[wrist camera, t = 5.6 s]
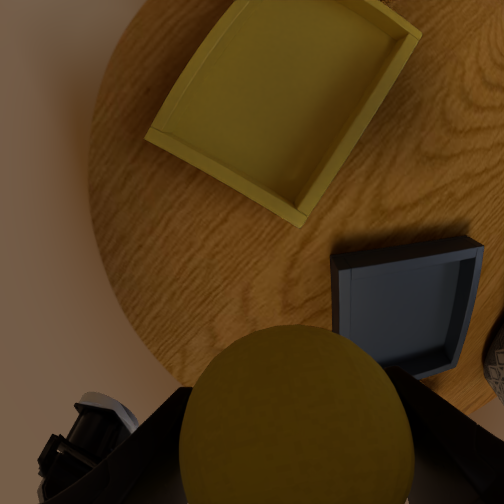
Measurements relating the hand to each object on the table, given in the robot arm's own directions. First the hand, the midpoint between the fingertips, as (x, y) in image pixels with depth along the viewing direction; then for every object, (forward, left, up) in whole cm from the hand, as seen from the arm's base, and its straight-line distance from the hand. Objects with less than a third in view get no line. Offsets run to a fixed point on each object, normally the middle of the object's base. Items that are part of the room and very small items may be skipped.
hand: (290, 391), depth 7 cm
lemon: (0, 0, -2) cm, 2 cm away
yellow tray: (+2, +11, -12) cm, 16 cm away
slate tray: (+9, -7, -12) cm, 16 cm away
